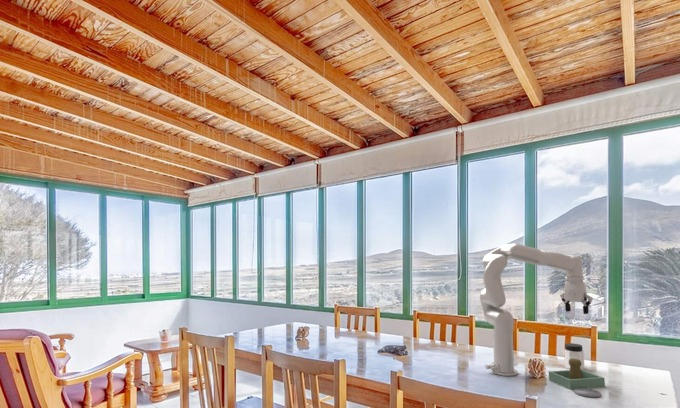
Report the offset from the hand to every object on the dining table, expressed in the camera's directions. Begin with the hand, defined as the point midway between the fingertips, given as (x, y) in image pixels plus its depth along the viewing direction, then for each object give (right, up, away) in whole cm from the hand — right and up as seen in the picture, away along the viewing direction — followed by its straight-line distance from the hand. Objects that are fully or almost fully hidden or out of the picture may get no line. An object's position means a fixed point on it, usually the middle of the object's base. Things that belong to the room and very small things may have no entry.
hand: (576, 312), depth 217 cm
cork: (-14, -27, -25) cm, 39 cm away
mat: (-18, -25, -39) cm, 50 cm away
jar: (-1, -30, 0) cm, 30 cm away
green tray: (-14, -27, -25) cm, 39 cm away
